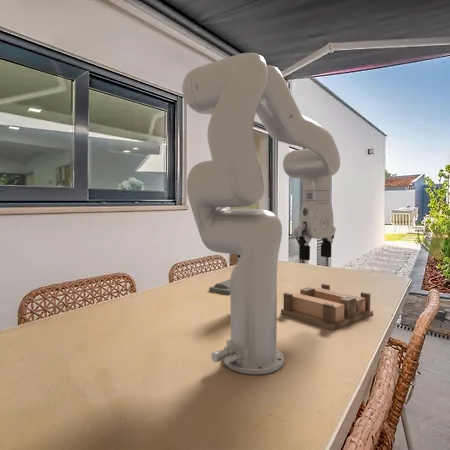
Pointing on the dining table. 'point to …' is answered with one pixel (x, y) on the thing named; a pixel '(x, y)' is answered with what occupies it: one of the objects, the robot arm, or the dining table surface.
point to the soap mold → (221, 287)
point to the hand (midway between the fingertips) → (315, 258)
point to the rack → (331, 307)
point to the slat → (315, 306)
